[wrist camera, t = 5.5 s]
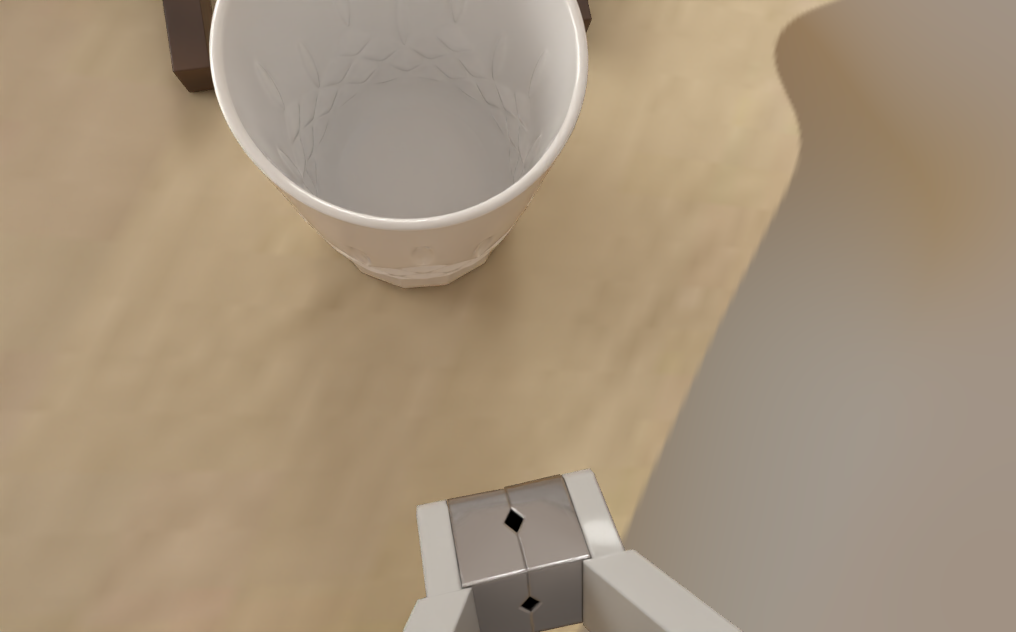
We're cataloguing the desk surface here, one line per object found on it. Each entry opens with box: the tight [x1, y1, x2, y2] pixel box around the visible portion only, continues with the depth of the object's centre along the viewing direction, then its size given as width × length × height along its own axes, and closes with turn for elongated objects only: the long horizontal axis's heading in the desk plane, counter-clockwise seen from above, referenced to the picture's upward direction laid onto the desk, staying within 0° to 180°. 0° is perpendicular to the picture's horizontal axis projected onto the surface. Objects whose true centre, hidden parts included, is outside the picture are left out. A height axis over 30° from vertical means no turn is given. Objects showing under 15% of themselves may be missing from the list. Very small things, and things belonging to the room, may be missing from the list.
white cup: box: [209, 0, 588, 288], centre depth 19 cm, size 8×8×10 cm
